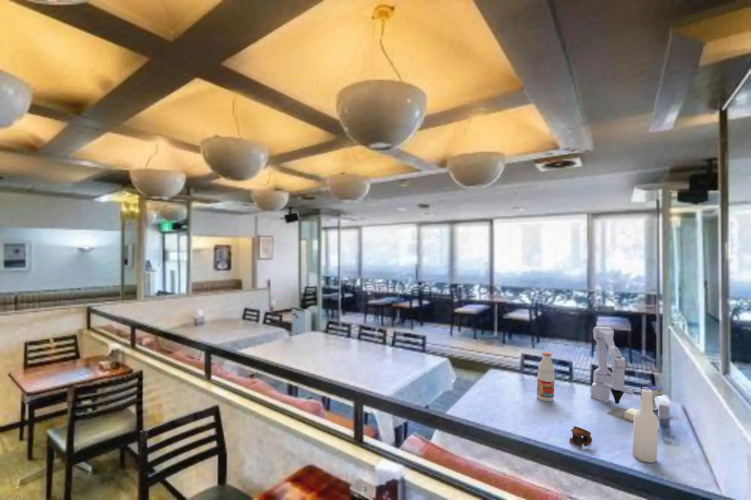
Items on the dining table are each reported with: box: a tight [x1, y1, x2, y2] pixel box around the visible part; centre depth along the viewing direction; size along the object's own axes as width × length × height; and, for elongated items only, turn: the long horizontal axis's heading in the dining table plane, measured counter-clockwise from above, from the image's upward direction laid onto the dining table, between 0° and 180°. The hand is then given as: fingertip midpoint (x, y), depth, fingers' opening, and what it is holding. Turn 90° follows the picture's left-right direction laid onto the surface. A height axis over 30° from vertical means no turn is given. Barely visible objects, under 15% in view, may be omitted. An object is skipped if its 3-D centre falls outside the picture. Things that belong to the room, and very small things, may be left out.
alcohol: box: [631, 389, 659, 464], centre depth 167 cm, size 9×9×30 cm
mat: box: [606, 406, 634, 424], centre depth 210 cm, size 14×16×1 cm
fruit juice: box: [536, 351, 555, 403], centre depth 230 cm, size 9×9×28 cm
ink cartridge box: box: [640, 382, 663, 409], centre depth 220 cm, size 10×6×14 cm, turn 102°
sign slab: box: [624, 407, 639, 421], centre depth 206 cm, size 4×9×7 cm
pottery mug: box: [569, 425, 593, 448], centre depth 177 cm, size 12×10×8 cm
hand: (617, 403), depth 213 cm, fingers closed
